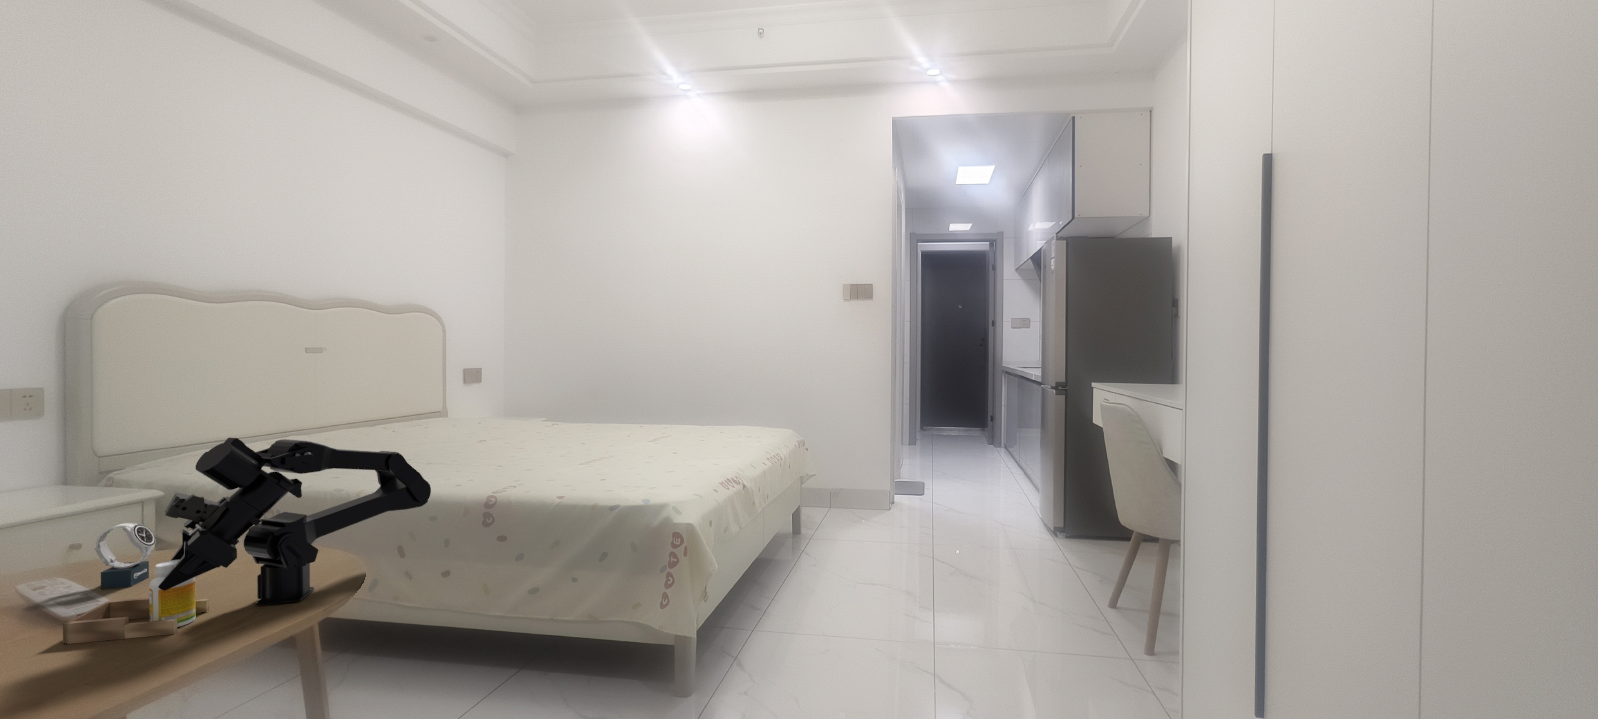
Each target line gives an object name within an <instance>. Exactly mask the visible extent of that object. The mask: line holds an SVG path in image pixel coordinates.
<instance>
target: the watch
mask: <svg viewBox="0 0 1598 719" xmlns="http://www.w3.org/2000/svg"><path fill="white" fill-rule="evenodd" d="M120 528H121V529H122V530H123V531H124V533H126V534H125V535H126V538H127V540H128V542H129V543H130V544H131V545H132V546H133V547H134V548H136V549H138V550H139V552H140V553H141V554H142V556H141V557H140V558H139V560H137V561H132V562H131V561H130V562H129V561H128V562H121V561H120V562H119V561H118V559H117V557H116V556H115V555H114V554H113V552H112V551H111V550H110V547H109V544H108V545H107V540H106V538H107V536H108V534H110V533H111V531H113V530H114V529H120ZM156 540H157V539H156V536H155V534H154V532H153V531H152V530H151V529H150V528H149V527H148V526H146V525H144V524H142V523H136V522H135V523H134V522H124V523H123V522H122V523H120V524H117V525H114V526H111V527H109V528H107V529H105V530H104V531H102V532H101V533H100V534H99V535H98V537H97V538H96V541H95V548H94V549H95V552H96V555H97V556H98V557H99V559H100V560H101V562H102V563H103V564H104V565H105V566H107V567H108V566H109V568H107V569H104V570H103V571H101V572H100V590H110V589H111V590H112V589H121V588H131V587H133V586H135V585H137V584H140V583H141V582H143V581H145V580H146V579H149V578H150V571H149V570H150V568H149V567H150V564H149V562H150V561H149V560H147V559H148V558H149V557H150V556H151V554H152V553H153V552H154V549H155V545H156V542H157V541H156Z"/></svg>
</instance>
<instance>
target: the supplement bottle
mask: <svg viewBox="0 0 1598 719" xmlns="http://www.w3.org/2000/svg"><path fill="white" fill-rule="evenodd" d="M170 560H171V559H170ZM170 560H166V561H163V562H159V563H157V564H155V566H154V573H155V576H156V577H155V578H153V579H152V580H151V581H150V582H149V585H148V586H149V587H148V588H149V590H148V593H149V595H148V596H149V597H148V598H149V605H150V617H149V621H160V620H172V619H177V628H179V627H182V626H185V625H188V624H190V623H192V622H193V621H195V620H196V616H197V615H196V614H197V613H196V602H195V600H196V577H194V578H191V579H189V580H187V581H185V582H183V583H181V584H178V585H176V586H174V587H172V588H170V589H168V590H165V591H163V590H161V589H159V588H158V586H159V585H160V583H161V582H162V581H163V580H164V578H165V577H166V576H167V575H168V574H169V572H170V571H171V570H172V569H173V568H174V566H175V565H176V564H177V563H178V562H179V560H171V561H170Z"/></svg>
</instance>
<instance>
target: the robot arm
mask: <svg viewBox="0 0 1598 719" xmlns="http://www.w3.org/2000/svg"><path fill="white" fill-rule="evenodd" d="M264 467H267V468H269V469H270V470H272V471H270V472H267V471H266V470H264V469H262V468H264ZM333 469H336V470H337V469H340V470H363V471H365V470H366V471H375V473H376V477H377V481H378V482H377V483H378V484H379V487H378V488H377V489H376V491H374V492H372V493H370V494H367V495H363V496H361V497H358V498H355V499H352V500H349V501H346V502H344V503H340V504H338V505H334V506H332V507H329V508H326V509H323V510H320V511H317V512H315V513H311V514H308V515H307V514H304V513H298V512H297V513H296V512H288V511H283V512H280V513H278V514H276V515H273V516H271V517H269V518H262V517H263V516H265V515H266V514H267V513H268V512H269V511H270V510H271V509H273V507H274V506H276V505H277V503H279V502H280V501H281V500H282V499H283V498H284V497H285V496H287V495H288V493H290V495H292V496H294V497H295V498H298V499H301V498H302V497H303V495H302V494H303V493H302V492H303V491H302V485H303V482H302V481H301V480H300V479H298V478H292V479H290V478H288V477H287V476H285V475H284V474H282V473H290V474H299V475H301V474H310V473H311V474H312V473H316V472H317V473H318V472H323V471H326V470H333ZM195 470H196V472H199V473H200V474H202V475H203V476H205V477H207V478H208V479H210V480H211V481H213V482H215V483H217V484H218V485H219V486H221V487H223V488H224V489H226V490H228V491H231V490H232V491H233V490H236V491H235V492H233V493H232V494H231V495H230V496H228V495H227V496H223V497H222V498H220V499H219V500H218V501H213V500H210V499H205V497H204V496H197V495H196V494H194V493H192V494H191V495H190V494H186V493H185V494H184V493H181V492H175V493H174V495H173V496H172V498H171V500H170V501H169V503H168V505H167V507H166V509H165V510H164V515H165V516H166V517H169V518H172V519H178V518H179V519H183V520H186V521H185V522H184V523H183V527H184V528H186V529H190V530H188V531H187V530H185V529H182V531H181V545H180V546H179V548H178V549H177V551H175V553H174V555H173V556H172V557H171V559H170V560H169V561H171V560H179V562H178V563H177V564H176V565H175V566H174V568H173V569H172V570H171V571H170V572H169V574H168V575H167V576H166V577H165V578H164V580H163V581H162V582H161V583H160V585H159V586H158V588H159V589H161V590H163V591H165V590H168V589H170V588H172V587H174V586H176V585H178V584H181V583H183V582H185V581H187V580H189V579H191V578H194V577H195V578H196V577H198V576H200V575H203V574H205V573H207V572H210V571H211V570H215V569H216V568H217V569H219V568H220V567H222V568H226V569H227V568H228V567H229V566H230V565H231V564H232V563H233V562H234V561H235V560H237V558H238V549H237V547H236V545H237V544H238V543H240V541H239V539H240V538H241V537H243V535H244V534H245V533H246V532H247V533H246V534H245V536H244V539H243V548H244V550H245V552H246V553H247V554H248V555H250V556H251V557H252V558H253V561H254V562H255V564H257V565H260V564H261V566H260V573H259V574H258V575H257V576H256V584H257V585H256V586H257V587H256V589H257V599H258V600H257V601H256V602H255V606H266V605H267V606H268V605H278V604H291V603H299V602H301V601H302V600H303V599H305V598H306V597H307V596H309V595H310V594H311V593H312V592H313V591H314V590H315V586H311V572H310V571H311V563H315V562H316V560H317V556H318V553H319V549H318V548H317V547H316V546H315V545H312V544H313V543H314V542H315V541H316V540H317V539H319V538H321V537H324V536H326V535H330V534H332V533H334V532H337V531H340V530H342V529H345V528H348V527H350V526H352V525H355V524H358V523H360V522H363V521H366V520H368V519H371V518H374V517H378V516H380V515H382V514H385V513H388V512H392V511H393V512H394V511H404V510H411V509H417V508H421V507H423V506H425V505H426V504H427V503H428V502H429V499H430V496H431V494H432V489H431V484H430V483H429V481H427V480H426V479H425V478H424V477H423V475H422V474H421V473H420V472H419V471H418V470H417V469H415V468H414V467H413V466H411V464H409V462H408V461H407V460H406V459H405V457H404V456H403V454H401V453H400V452H397V451H390V450H389V451H388V450H380V451H371V450H370V451H369V450H355V449H341V448H340V449H339V448H335V447H330V446H328V445H325V444H321V443H319V442H318V443H317V442H313V441H309V440H298V439H285V438H284V439H278V440H275V442H273V443H272V444H271V445H270V446H269V447H267V448H265V449H261V450H258V451H255V450H253V449H251V448H250V447H249V446H247V445H246V444H245V443H244V442H243V441H242V440H240V439H239V438H238V437H228V438H226V440H225V441H224V442H222V443H220V444H217V445H215V446H214V447H212V448H211V449H209V450H208V451H205V452H204V453H203V454H202V455H201V456H200V457H199V459H198V460H197V462H196V464H195Z"/></svg>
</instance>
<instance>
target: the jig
mask: <svg viewBox="0 0 1598 719" xmlns="http://www.w3.org/2000/svg"><path fill="white" fill-rule="evenodd" d="M195 602H196V614H202V613H201V612H207V611H208V612H210V599H209V598H201V599H195ZM208 612H207V613H208ZM146 618H147V619H148V618H149V619H150V605H149V597H140V598H130V599H129V598H128V599H118V600H117V599H115V600H107V601H105V602H104V603H102V604H100V605H98V606H95V607H93V608H92V609H90V610H88V611H86V612H83V613H82V614H80V615H78V616H76V617H74V618H72V619H70V620H68V621H66V622H65V623H63V624H62V645H71V644H82V643H90V642H91V643H92V642H103V641H112V640H115V641H116V640H125V639H126V640H127V639H134V638H144V637H154V636H156V637H157V636H167V635H174V634H176V633H178V627H177V619H172V620H160V621H150V620H149V621H140V622H138V621H137V622H130V623H129V620H136V619H146ZM64 643H65V644H64ZM66 643H67V644H66Z"/></svg>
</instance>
